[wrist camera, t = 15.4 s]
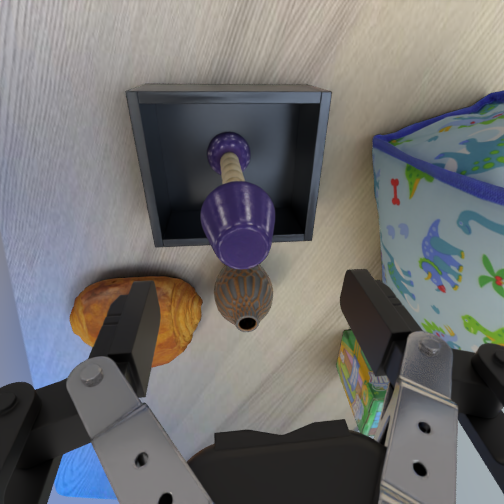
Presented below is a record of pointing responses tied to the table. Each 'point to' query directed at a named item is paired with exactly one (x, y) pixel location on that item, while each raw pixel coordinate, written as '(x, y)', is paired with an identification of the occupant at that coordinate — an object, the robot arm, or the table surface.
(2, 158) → the table surface
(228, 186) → the toy lamp
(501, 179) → the lunch bag
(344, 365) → the chalk box
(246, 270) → the vase
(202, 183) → the open box
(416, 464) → the robot arm
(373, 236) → the table surface
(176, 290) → the croissant
